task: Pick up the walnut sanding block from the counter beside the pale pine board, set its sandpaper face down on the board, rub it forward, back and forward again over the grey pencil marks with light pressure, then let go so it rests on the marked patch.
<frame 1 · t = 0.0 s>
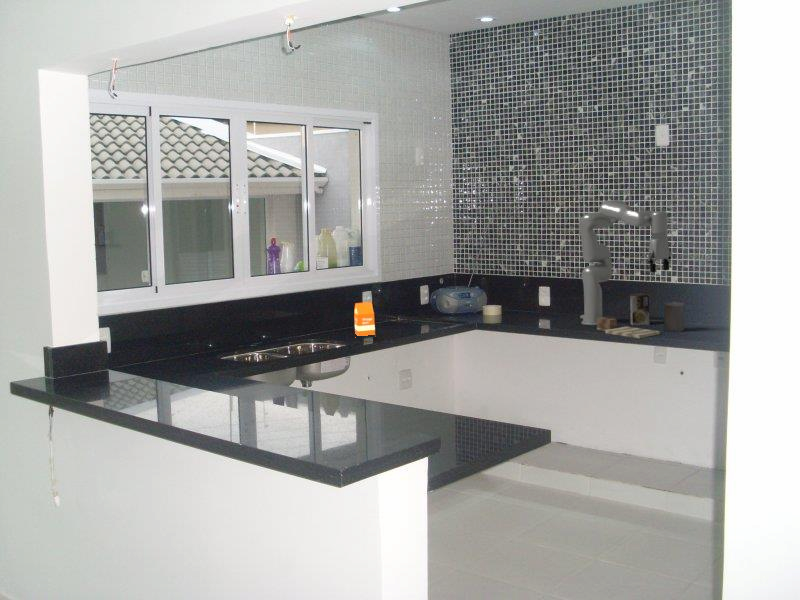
hand: (659, 271, 431), 31 cm above the table, fingers open, 9 cm apart
pillar candle: (674, 330, 441), on the table
sanding block: (606, 330, 451), on the table
pine board: (632, 333, 437), on the table
orange juice: (365, 341, 452), on the table
coffee box: (639, 324, 463), on the table
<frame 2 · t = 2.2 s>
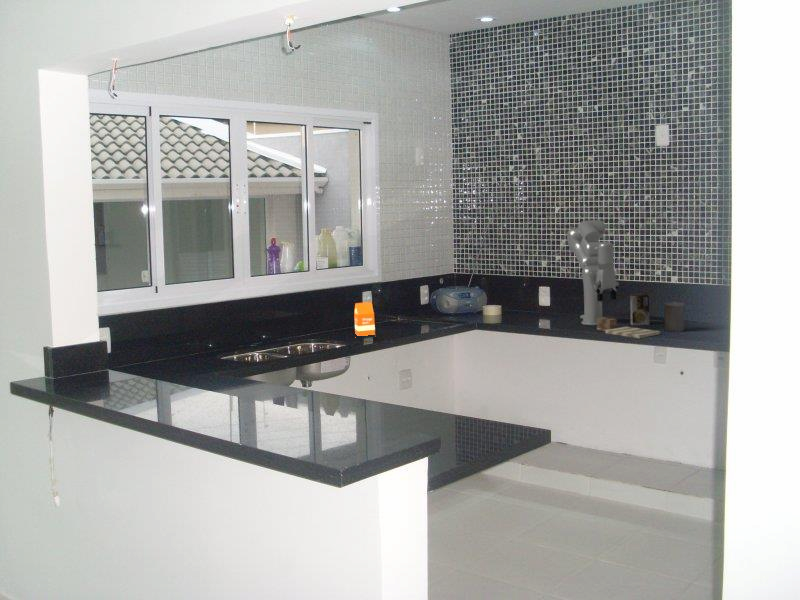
hand: (606, 300, 448), 16 cm above the table, fingers open, 9 cm apart
nothing on the table moved.
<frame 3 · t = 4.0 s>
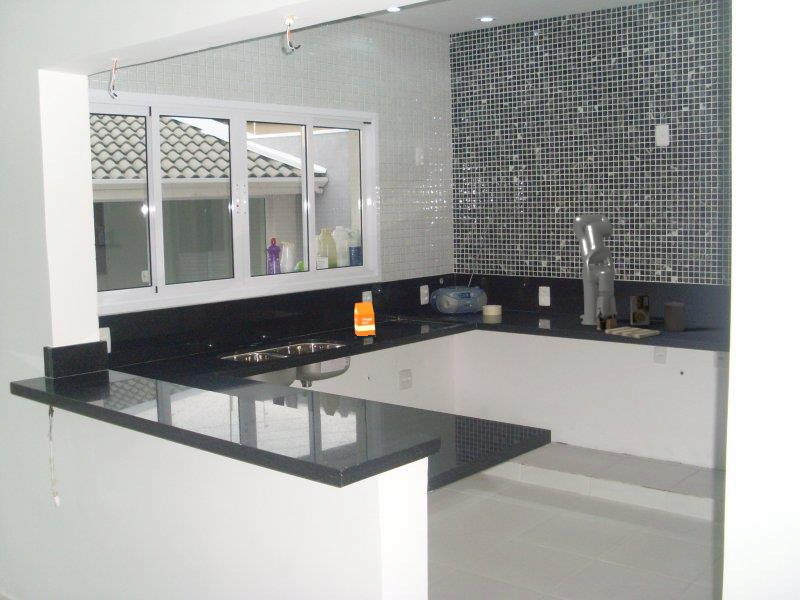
hand: (606, 328, 451), 1 cm above the table, fingers closed on sanding block, 5 cm apart
sanding block: (606, 329, 451), on the table, touching gripper
everything else where it was.
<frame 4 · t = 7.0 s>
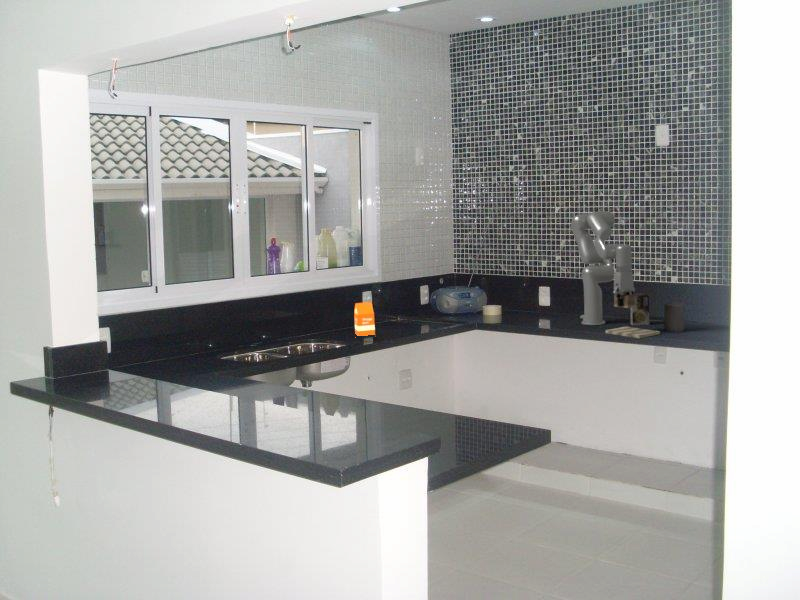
hand: (624, 305, 439), 14 cm above the table, fingers closed on sanding block, 5 cm apart
sanding block: (624, 306, 439), point 13 cm above the table, touching gripper
everything else where it was.
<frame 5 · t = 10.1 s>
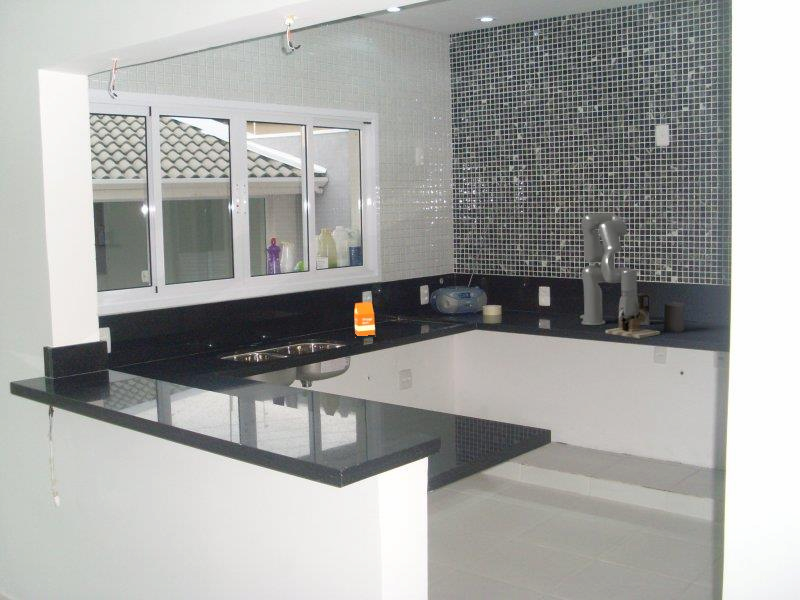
hand: (629, 329, 438), 2 cm above the table, fingers closed on sanding block, 5 cm apart
sanding block: (629, 330, 438), point 2 cm above the table, touching gripper
everything else where it was.
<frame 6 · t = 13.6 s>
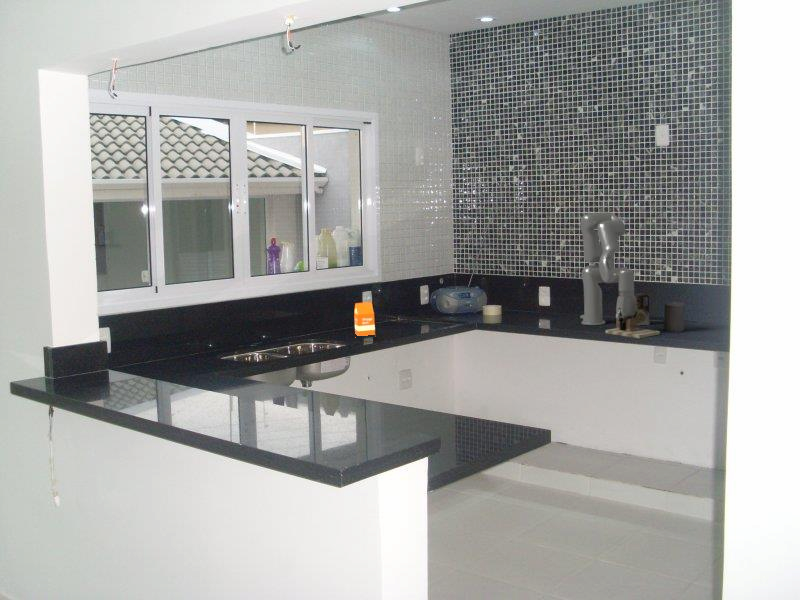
hand: (626, 329, 440), 2 cm above the table, fingers closed on sanding block, 5 cm apart
sanding block: (626, 329, 440), point 2 cm above the table, touching gripper
everything else where it was.
when the fingers open (2 cm above the table, at t = 16.4 s): sanding block stays where it is, resting on pine board.
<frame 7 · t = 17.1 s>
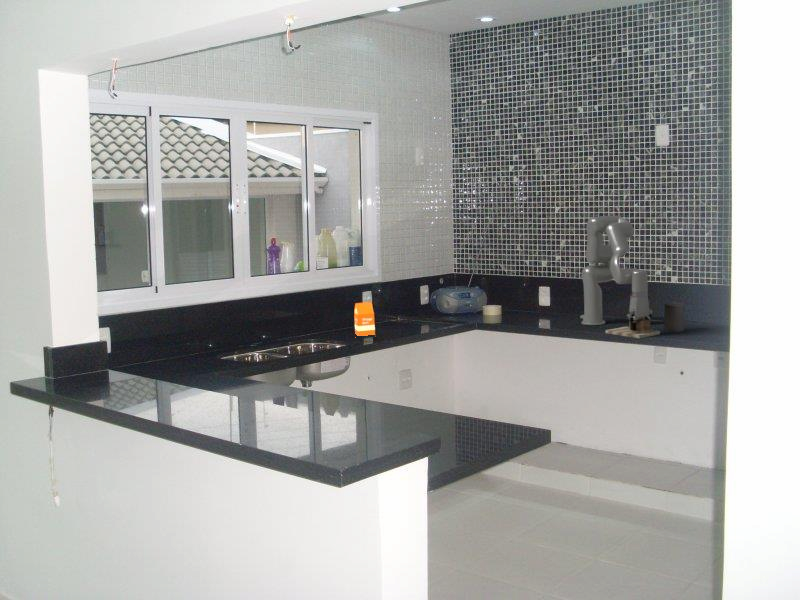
hand: (640, 329, 432), 3 cm above the table, fingers open, 9 cm apart
sanding block: (639, 331, 433), point 2 cm above the table, touching pine board
everything else where it was.
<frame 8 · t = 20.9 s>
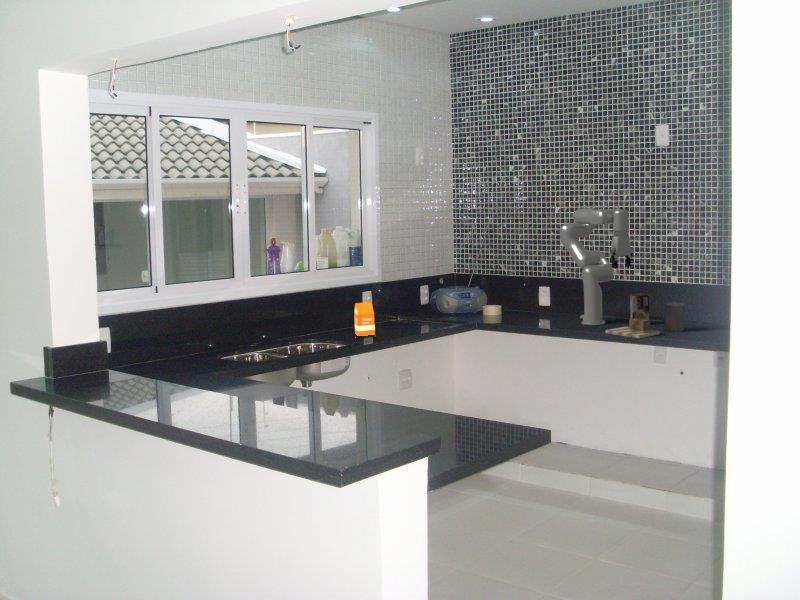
hand: (621, 267, 446), 32 cm above the table, fingers open, 9 cm apart
nothing on the table moved.
at the end: sanding block inside the target area on the pine board (0.2 cm from its centre), point 1.5 cm above the pine board's base; sanding block tilted 0°; the gripper is holding nothing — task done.
